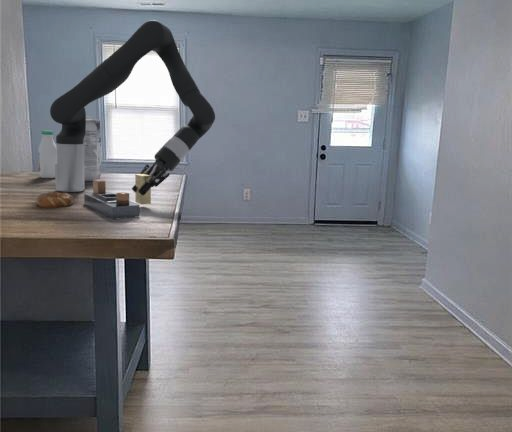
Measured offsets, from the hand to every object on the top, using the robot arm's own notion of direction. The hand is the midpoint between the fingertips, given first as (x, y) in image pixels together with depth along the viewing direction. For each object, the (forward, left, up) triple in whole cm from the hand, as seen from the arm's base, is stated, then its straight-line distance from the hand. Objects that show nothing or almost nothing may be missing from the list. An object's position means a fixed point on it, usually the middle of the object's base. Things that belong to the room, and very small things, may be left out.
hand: (137, 192), depth 145 cm
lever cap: (+2, +1, -4) cm, 4 cm away
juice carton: (-33, +55, -5) cm, 64 cm away
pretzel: (-26, 0, -6) cm, 26 cm away
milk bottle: (-50, +57, -5) cm, 76 cm away
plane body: (-7, -5, -5) cm, 10 cm away
